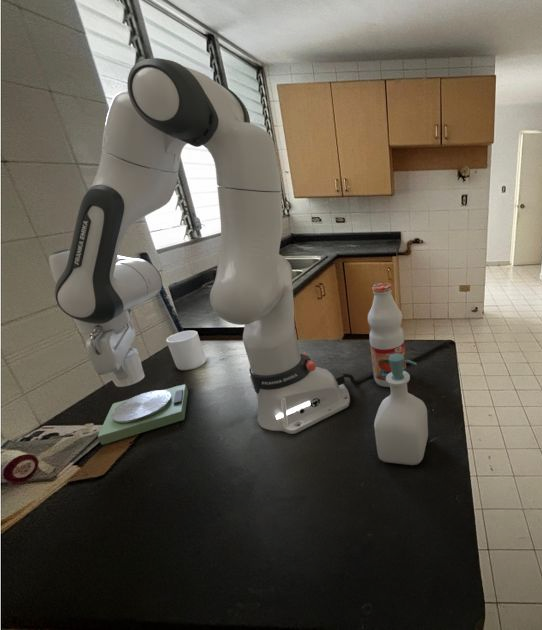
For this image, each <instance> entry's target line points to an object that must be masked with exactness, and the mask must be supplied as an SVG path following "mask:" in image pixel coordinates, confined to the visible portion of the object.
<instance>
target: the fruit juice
mask: <svg viewBox="0 0 542 630" xmlns="http://www.w3.org/2000/svg"><path fill="white" fill-rule="evenodd" d="M392 291H393V286H392V284H391V283H388V282H380V283H375V284H373V285H372V293H373V299H372V305H371V308H370V309H369V311H368V313H367V323H368V326H369V329H370V330H369V335H368V337H369V338H368V339H369V348H370V356H371V365H372V372H373V374H374V376H373V379H374V382H375V384H377V386H380V387H383V388H390V384H388V383H387V382H386V376H387V375H388V374H389V373H391V372H392V371H391V367H390V362H389V356H390V355H392V354H402V355H403V356H404V360H407V359H406V346H405V344H406V343H405V333H404V330H403V328H402V322H403V315H402V314H403V313H402V311H401V310H400V308H399V307H398V305H397V304H396V302H395V299H394V297H393V295H392ZM403 371H406V372H407V373H408V371H407V364H406V363H405V362H404V364H403Z"/></svg>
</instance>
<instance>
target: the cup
mask: <svg viewBox="0 0 542 630" xmlns="http://www.w3.org/2000/svg"><path fill="white" fill-rule="evenodd" d="M165 341H166V344H167V347H168V349H169V352H170V354H171V357H172V359H173V362H174V365H175V367H176V368H177V370H178V371H190V370H193V369H197V368H199V367H201V366H203V365H204V364H205V363H206V361H207V356H206V354H205V351H204V347H203V345H202V342H201V339H200V336H199V334H198V331H196V330H183V331H179V332H175V333H174V334H171V335H169V336H168V337H167V338H166V340H165Z"/></svg>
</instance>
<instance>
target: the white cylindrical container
mask: <svg viewBox="0 0 542 630" xmlns="http://www.w3.org/2000/svg"><path fill="white" fill-rule="evenodd" d="M123 367H124V368H125V370H126V371H127V373H128V378H127V379H123V380H118V379H117V376H116V374H114V373H113V372H112V373H108V376H109V378H110V379H111V381H112V382H113V384H114V385H115V387H117V388H124V387H129V386H131V385H132V386H133V385H134V384H137V383H139V382H141V381H142V380H143V379H144V378H145V377H146V375H145V372H144V368H143V365H142V361H141V358H140V354H139V351H138V348H135V347H131V348H130V349H129V351H128V353H127V355H126V357H125V359H124V361H123Z"/></svg>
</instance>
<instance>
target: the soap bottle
mask: <svg viewBox="0 0 542 630" xmlns="http://www.w3.org/2000/svg"><path fill="white" fill-rule="evenodd" d="M389 362H390V367H391V371H392V372H391V373H389V374H388V375H387V376H386V382H387V383H388V384H390V387H389V388H390V394H389V395H388V396H386V397H385V398H384V399H383V400H382V401H381V402H380V405H379V406H378V409H377V412H376V415H375V418H374V422H373V427H374V436H375V445H376V451H377V456H378V459H379V460H380V461H381V462H383V463H389V464H398V465H405V466H408V465H409V466H416V465H419V464H420V463H421V462H422V461H423V459H424V456H425V452H426V446H427V442H428V439H429V427H428V425H429V424H428V409H427V406H426V404H425V402H424V401H423V400H422V399H420V398H419V397H417V396H415V395H414V394H411V393H409V391H408V383H409V381H410V380H411V375H410V373H409V372H408V371H407V370H406V371H407V372H406V371H403V364H404V362H405V363H408V364H411V365H414V366H417V365H418V363H417V362H415V361H410V360H409V359H406V360H404V356H403V355H402V354H392V355H390V356H389Z"/></svg>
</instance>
